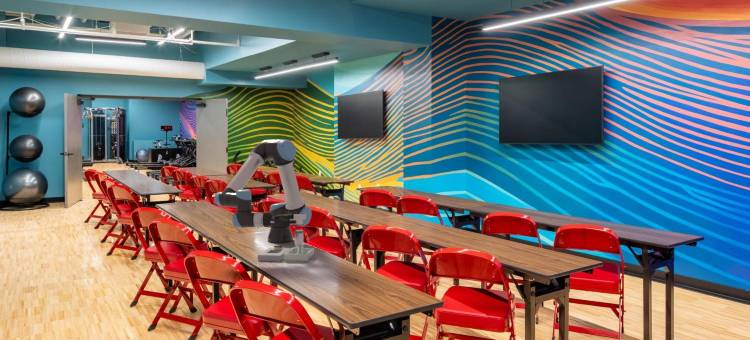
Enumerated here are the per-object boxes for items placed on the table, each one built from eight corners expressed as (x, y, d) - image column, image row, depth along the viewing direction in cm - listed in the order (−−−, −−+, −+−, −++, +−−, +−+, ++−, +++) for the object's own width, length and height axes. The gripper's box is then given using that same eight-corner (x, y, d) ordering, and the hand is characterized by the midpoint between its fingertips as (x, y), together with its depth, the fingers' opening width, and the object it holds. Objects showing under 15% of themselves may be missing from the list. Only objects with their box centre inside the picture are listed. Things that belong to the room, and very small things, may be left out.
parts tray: (292, 254, 263) (292, 247, 263) (314, 255, 262) (314, 248, 261) (284, 261, 250) (283, 253, 249) (306, 262, 248) (306, 254, 247)
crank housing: (269, 253, 267) (269, 244, 267) (290, 253, 266) (290, 244, 265) (257, 260, 252) (257, 251, 251) (280, 261, 250) (280, 252, 250)
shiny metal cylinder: (296, 255, 258) (296, 229, 257) (304, 255, 257) (304, 229, 256) (294, 257, 254) (293, 230, 253) (302, 257, 253) (301, 231, 252)
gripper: (268, 222, 266) (307, 221, 266) (258, 231, 241) (301, 231, 242) (267, 208, 265) (307, 208, 266) (258, 216, 240) (301, 216, 241)
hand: (304, 219), depth 254 cm, fingers open, 13 cm apart
